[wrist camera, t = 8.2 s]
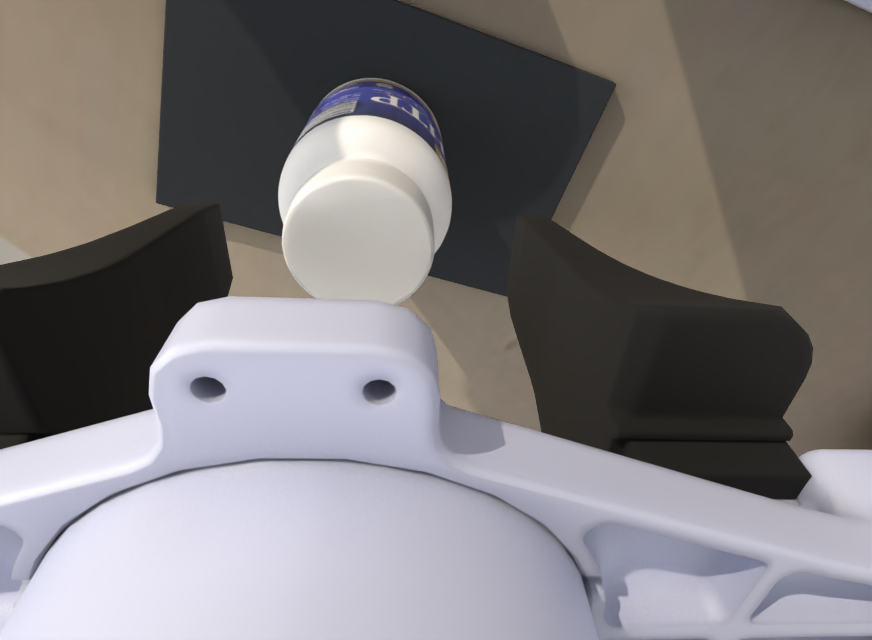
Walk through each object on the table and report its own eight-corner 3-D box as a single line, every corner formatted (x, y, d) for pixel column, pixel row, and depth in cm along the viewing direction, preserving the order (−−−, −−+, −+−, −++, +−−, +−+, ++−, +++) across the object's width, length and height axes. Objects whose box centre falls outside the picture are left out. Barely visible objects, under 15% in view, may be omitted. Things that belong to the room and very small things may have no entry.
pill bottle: (469, 154, 22) (500, 262, 15) (373, 232, 24) (358, 363, 16) (378, 41, 19) (361, 102, 12) (278, 138, 21) (211, 242, 14)
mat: (613, 81, 21) (616, 84, 21) (511, 293, 26) (512, 298, 26) (174, -84, 17) (169, -85, 17) (159, 199, 23) (155, 203, 22)
